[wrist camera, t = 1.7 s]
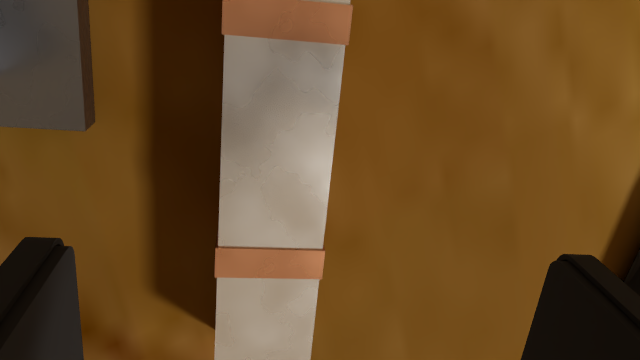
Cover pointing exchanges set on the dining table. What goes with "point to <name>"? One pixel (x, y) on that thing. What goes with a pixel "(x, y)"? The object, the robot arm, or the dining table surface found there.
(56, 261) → the robot arm
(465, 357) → the dining table surface
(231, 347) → the white and orange bar
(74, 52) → the grey stand
